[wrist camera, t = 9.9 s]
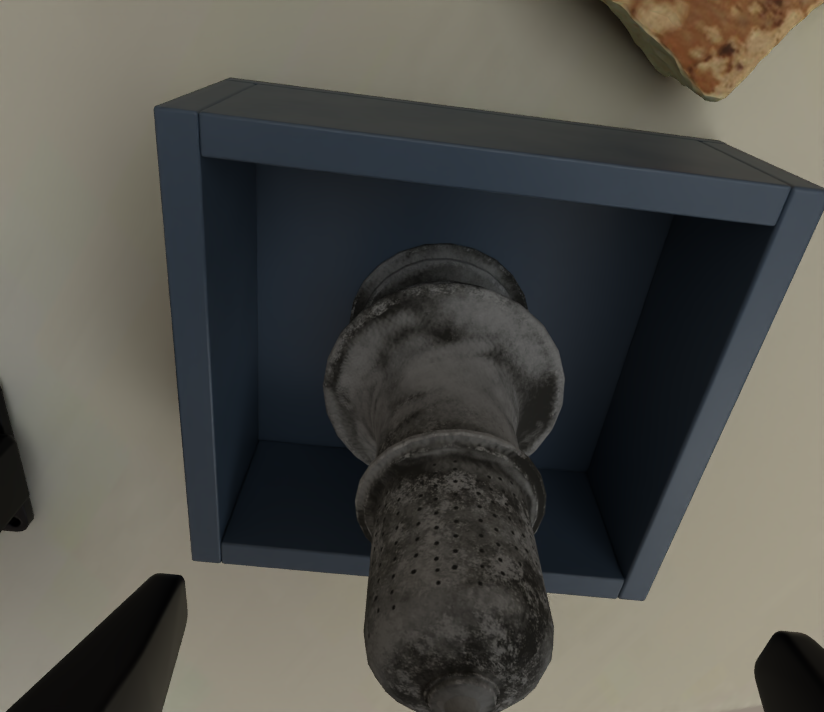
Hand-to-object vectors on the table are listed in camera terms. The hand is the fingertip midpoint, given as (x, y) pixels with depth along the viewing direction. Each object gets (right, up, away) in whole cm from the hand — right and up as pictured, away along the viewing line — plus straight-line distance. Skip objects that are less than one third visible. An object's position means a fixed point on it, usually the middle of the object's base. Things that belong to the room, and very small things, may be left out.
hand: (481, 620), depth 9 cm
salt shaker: (0, +5, +9) cm, 10 cm away
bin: (0, +5, +9) cm, 11 cm away
